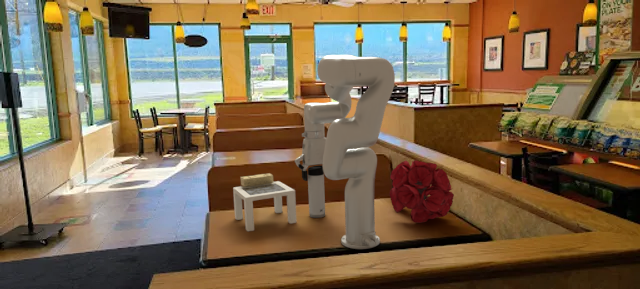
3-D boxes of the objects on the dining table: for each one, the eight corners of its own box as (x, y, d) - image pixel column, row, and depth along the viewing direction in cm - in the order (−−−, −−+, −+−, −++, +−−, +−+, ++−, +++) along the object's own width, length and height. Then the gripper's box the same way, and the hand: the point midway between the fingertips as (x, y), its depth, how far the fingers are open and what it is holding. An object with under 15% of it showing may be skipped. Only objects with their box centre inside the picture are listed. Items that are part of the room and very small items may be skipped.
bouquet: (377, 233, 172) (415, 214, 146) (367, 175, 180) (401, 147, 154) (426, 229, 179) (470, 210, 153) (414, 173, 187) (453, 147, 161)
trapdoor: (284, 192, 167) (284, 180, 166) (251, 197, 161) (250, 185, 161) (271, 183, 181) (270, 173, 180) (240, 188, 175) (239, 177, 175)
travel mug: (326, 217, 171) (324, 167, 168) (309, 218, 172) (307, 167, 169) (326, 212, 178) (324, 163, 175) (309, 213, 178) (307, 164, 175)
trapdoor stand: (296, 222, 167) (295, 190, 165) (247, 231, 159) (245, 197, 157) (280, 210, 183) (278, 181, 181) (235, 218, 175) (233, 187, 173)
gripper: (297, 138, 163) (299, 183, 165) (339, 134, 170) (340, 177, 173) (290, 135, 170) (292, 179, 172) (330, 132, 177) (331, 174, 179)
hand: (316, 178), depth 172 cm, fingers open, 9 cm apart
